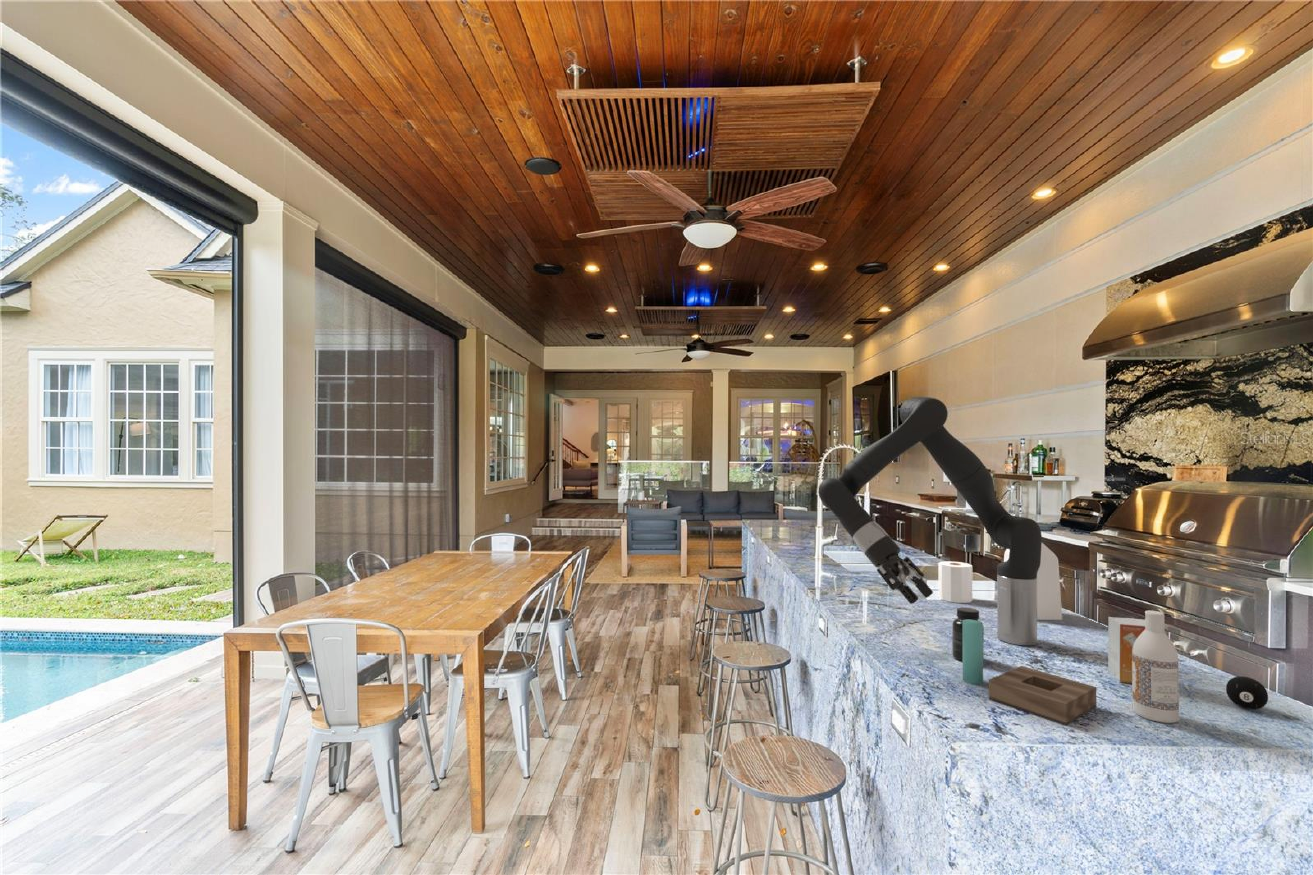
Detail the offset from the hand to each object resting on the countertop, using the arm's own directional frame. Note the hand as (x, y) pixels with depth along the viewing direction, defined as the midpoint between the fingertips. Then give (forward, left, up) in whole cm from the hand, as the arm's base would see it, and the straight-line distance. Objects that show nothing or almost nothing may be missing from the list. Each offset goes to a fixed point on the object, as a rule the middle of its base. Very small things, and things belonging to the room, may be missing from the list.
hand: (922, 598), depth 141 cm
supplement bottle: (-15, +3, -16) cm, 22 cm away
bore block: (-2, +25, -16) cm, 30 cm away
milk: (-71, -7, -16) cm, 73 cm away
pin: (-2, +11, -16) cm, 20 cm away
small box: (-33, +31, -16) cm, 48 cm away
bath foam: (-14, +40, -16) cm, 45 cm away
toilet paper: (-69, -30, -16) cm, 77 cm away
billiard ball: (-34, +49, -16) cm, 62 cm away
